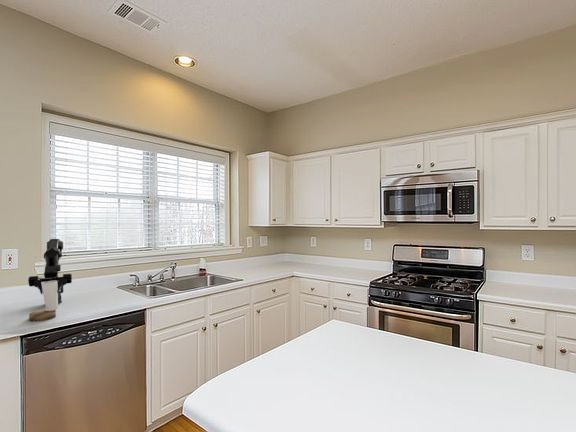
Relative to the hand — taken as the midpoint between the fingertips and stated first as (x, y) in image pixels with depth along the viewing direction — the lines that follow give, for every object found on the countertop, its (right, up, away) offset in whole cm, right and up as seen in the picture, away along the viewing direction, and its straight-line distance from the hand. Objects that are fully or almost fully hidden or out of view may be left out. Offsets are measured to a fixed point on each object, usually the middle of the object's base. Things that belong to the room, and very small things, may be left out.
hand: (49, 293), depth 170 cm
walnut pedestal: (-3, -13, -2) cm, 13 cm away
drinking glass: (0, -9, +1) cm, 10 cm away
